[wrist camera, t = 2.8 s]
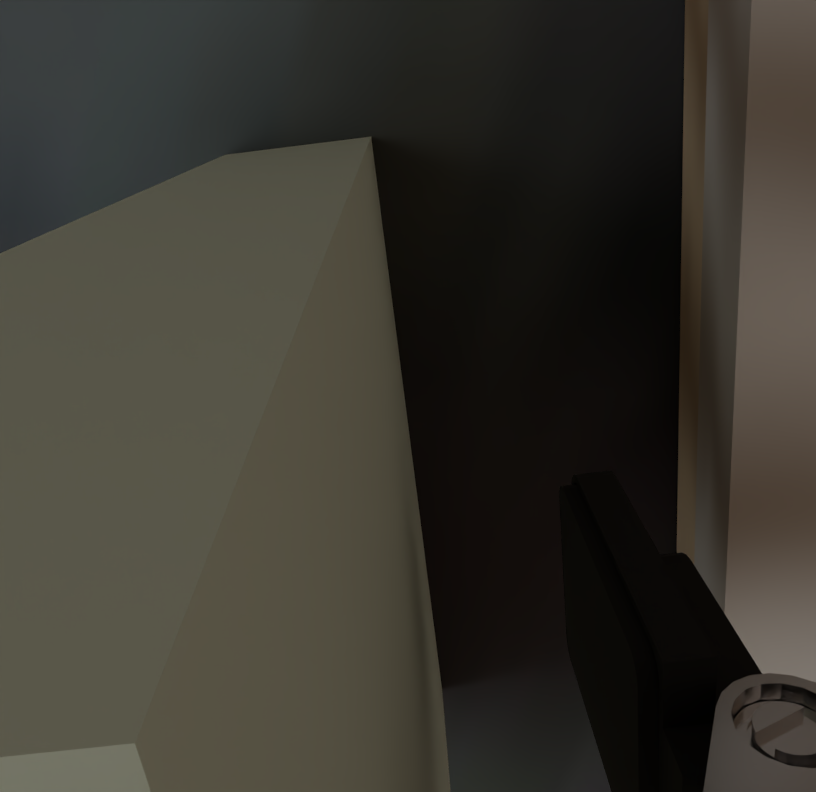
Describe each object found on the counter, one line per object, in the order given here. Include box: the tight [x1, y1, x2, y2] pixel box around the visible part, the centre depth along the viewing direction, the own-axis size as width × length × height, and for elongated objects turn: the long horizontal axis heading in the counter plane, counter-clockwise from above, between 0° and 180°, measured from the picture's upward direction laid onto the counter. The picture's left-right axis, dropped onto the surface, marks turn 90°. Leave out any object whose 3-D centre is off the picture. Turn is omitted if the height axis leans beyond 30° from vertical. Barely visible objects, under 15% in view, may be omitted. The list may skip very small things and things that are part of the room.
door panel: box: [0, 137, 450, 792], centre depth 9 cm, size 12×3×13 cm, turn 7°
